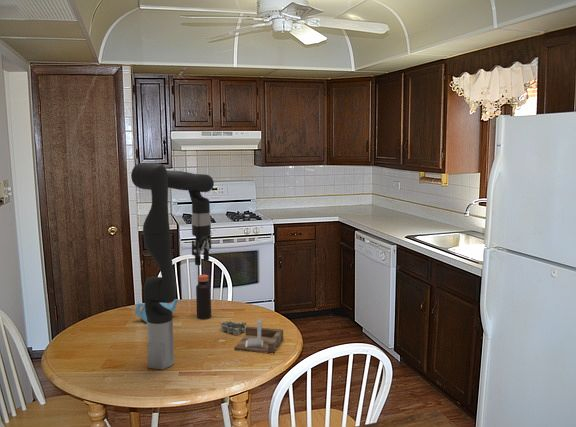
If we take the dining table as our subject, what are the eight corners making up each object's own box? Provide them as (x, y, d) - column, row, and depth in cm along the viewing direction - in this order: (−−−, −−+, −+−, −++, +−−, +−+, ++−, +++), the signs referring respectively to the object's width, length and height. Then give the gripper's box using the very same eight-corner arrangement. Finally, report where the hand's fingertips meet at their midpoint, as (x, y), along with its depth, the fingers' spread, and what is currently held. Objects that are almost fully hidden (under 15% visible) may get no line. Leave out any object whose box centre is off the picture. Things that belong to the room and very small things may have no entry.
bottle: (210, 314, 250) (209, 273, 247) (212, 318, 243) (211, 277, 240) (195, 315, 248) (194, 274, 245) (197, 320, 241) (196, 278, 238)
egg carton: (248, 332, 227) (248, 323, 227) (235, 336, 222) (235, 327, 221) (231, 326, 234) (231, 317, 234) (218, 330, 229) (218, 321, 228)
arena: (273, 353, 203) (273, 344, 203) (234, 349, 207) (234, 340, 207) (283, 338, 219) (283, 329, 218) (247, 335, 223) (246, 326, 222)
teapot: (152, 312, 252) (151, 291, 251) (179, 315, 247) (178, 294, 246) (133, 322, 238) (132, 300, 236) (161, 326, 233) (160, 303, 231)
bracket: (247, 346, 207) (247, 322, 206) (248, 341, 212) (247, 318, 211) (261, 346, 208) (261, 322, 206) (261, 341, 212) (261, 318, 211)
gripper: (199, 220, 218) (200, 258, 221) (185, 226, 205) (186, 266, 207) (216, 221, 217) (217, 259, 219) (202, 226, 203) (203, 267, 205)
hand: (202, 262), depth 213 cm, fingers open, 8 cm apart
